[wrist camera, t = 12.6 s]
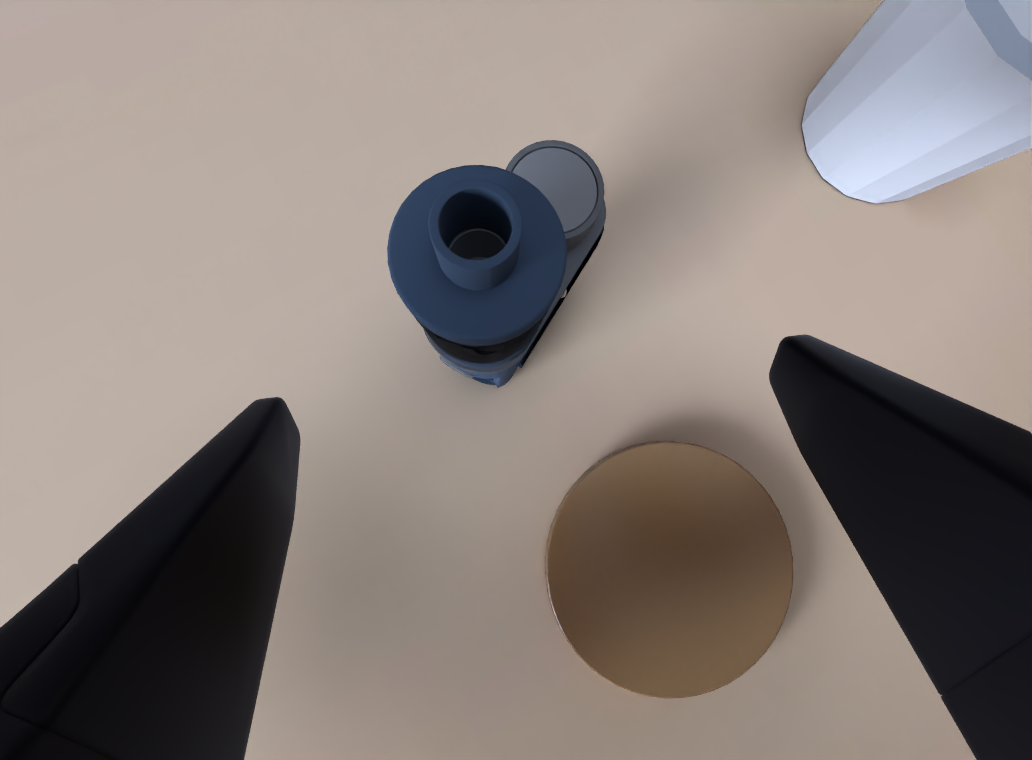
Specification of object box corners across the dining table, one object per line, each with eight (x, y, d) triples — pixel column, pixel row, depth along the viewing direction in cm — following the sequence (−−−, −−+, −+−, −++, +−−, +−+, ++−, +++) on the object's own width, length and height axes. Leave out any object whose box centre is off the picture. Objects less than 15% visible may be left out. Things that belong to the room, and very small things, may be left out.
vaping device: (434, 364, 17) (312, 254, 5) (515, 240, 18) (564, -113, 6) (498, 404, 17) (513, 380, 6) (576, 279, 18) (749, 5, 6)
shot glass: (874, 257, 18) (1106, 161, 12) (748, 120, 19) (900, -57, 12) (999, 140, 19) (1291, -20, 12) (874, 8, 19) (1093, -225, 12)
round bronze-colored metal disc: (834, 574, 18) (844, 578, 17) (657, 744, 17) (662, 754, 16) (675, 391, 18) (680, 391, 17) (494, 553, 17) (494, 557, 17)
